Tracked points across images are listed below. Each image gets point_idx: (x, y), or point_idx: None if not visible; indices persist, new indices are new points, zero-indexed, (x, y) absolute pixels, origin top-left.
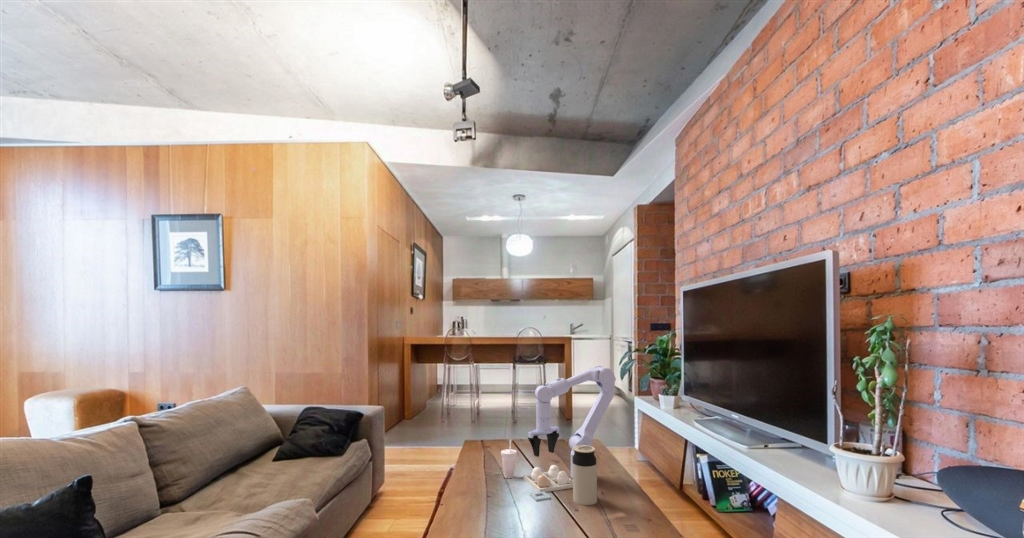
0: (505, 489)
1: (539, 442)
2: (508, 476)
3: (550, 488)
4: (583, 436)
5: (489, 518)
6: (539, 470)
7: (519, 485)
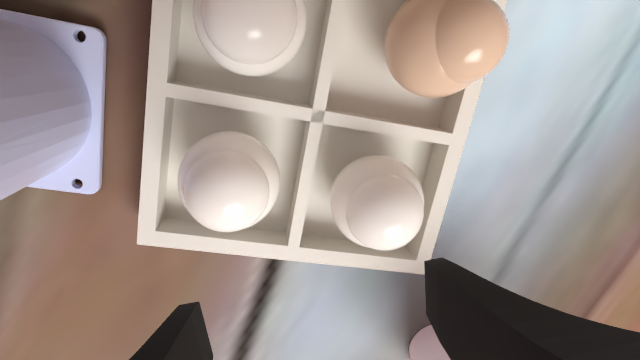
0: (570, 196)
1: (586, 348)
2: None
3: None
4: None
5: None
6: (390, 187)
7: (470, 210)
